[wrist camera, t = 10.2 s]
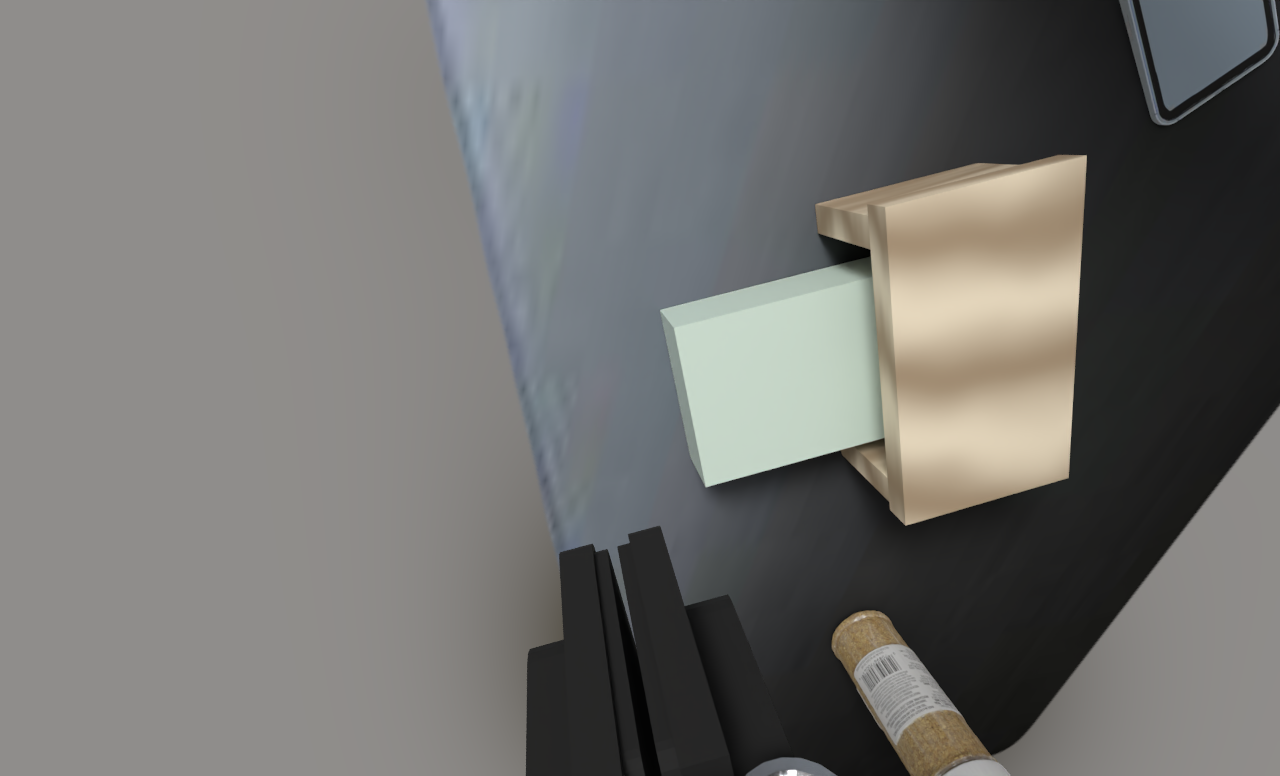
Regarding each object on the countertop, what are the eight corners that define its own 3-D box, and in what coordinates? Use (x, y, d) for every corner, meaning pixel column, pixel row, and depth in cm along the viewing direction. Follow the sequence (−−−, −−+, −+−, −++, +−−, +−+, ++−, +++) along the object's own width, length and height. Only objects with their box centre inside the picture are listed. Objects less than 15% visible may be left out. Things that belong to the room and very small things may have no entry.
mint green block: (659, 310, 33) (674, 327, 30) (943, 237, 34) (986, 247, 31) (690, 457, 37) (705, 487, 33) (947, 386, 38) (986, 409, 34)
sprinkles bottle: (840, 668, 45) (959, 869, 32) (821, 625, 43) (939, 820, 31) (898, 640, 45) (1040, 830, 32) (881, 595, 43) (1024, 779, 30)
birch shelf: (814, 194, 32) (885, 207, 26) (977, 153, 33) (1086, 155, 26) (842, 461, 38) (905, 525, 32) (979, 422, 39) (1068, 477, 32)
